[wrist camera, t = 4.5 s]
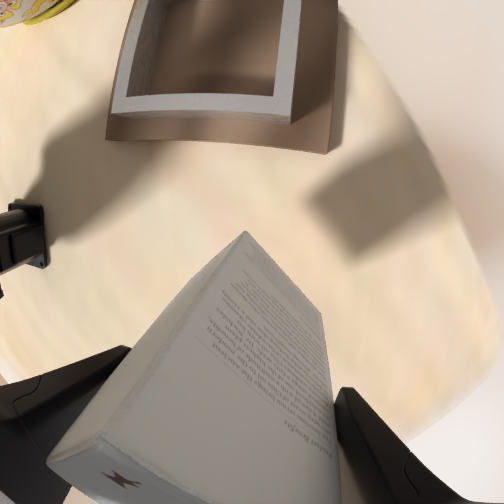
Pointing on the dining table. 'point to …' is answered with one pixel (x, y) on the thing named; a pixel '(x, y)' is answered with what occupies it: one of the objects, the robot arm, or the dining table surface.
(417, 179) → the dining table surface
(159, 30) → the light gray square frame
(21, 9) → the flowerpot
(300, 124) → the square wooden tray
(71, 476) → the skincare box
